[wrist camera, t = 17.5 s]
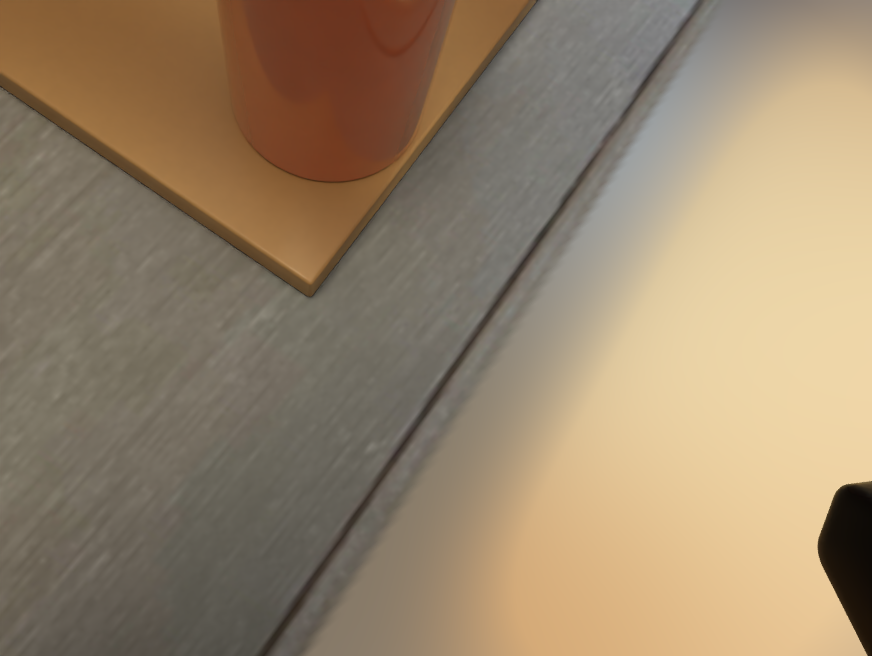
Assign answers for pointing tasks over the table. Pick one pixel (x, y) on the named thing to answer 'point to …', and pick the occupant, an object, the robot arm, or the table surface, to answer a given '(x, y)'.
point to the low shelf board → (213, 117)
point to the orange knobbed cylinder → (332, 79)
